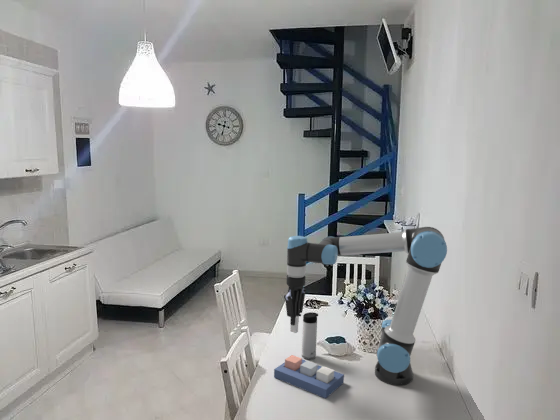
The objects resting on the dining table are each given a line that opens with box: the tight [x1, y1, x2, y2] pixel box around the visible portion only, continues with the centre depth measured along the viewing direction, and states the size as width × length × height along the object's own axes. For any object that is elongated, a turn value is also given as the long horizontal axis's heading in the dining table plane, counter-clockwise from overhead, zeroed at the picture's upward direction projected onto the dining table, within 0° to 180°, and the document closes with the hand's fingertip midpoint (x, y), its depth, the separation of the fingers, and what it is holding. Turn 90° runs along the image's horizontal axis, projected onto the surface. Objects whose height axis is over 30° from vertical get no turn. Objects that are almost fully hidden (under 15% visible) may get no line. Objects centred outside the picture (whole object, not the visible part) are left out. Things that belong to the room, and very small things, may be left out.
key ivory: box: [316, 365, 335, 384], centre depth 166 cm, size 5×5×4 cm
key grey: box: [300, 360, 318, 377], centre depth 171 cm, size 5×5×4 cm
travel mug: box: [301, 311, 319, 361], centre depth 190 cm, size 6×7×20 cm
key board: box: [273, 358, 345, 399], centre depth 171 cm, size 24×14×4 cm, turn 54°
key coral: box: [284, 354, 303, 371], centre depth 175 cm, size 5×5×4 cm
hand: (294, 331), depth 173 cm, fingers closed
